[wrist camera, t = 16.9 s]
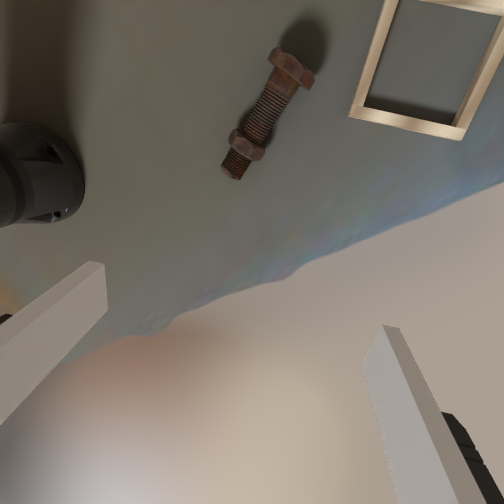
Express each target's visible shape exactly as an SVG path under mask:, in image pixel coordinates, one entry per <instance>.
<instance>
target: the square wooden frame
mask: <svg viewBox="0 0 504 504" xmlns="http://www.w3.org/2000/svg"><path fill="white" fill-rule="evenodd" d="M420 1H425V2H430V3H436V4H441V5H446V6H451V7H457V8H462V9H467V10H472V11H477V12H483V13H488V14H493V15H498V16H502V17H501V19H500V21H499V23H498V25H497V27H496V30H495V32H494V34H493V36H492V38H491V40H490V42H489V45H488V47H487V49H486V51H485V53H484V55H483V57H482V59H481V62H480V64H479V66H478V68H477V70H476V72H475V74H474V77H473V79H472V81H471V83H470V85H469V87H468V89H467V92H466V94H465V96H464V98H463V100H462V102H461V104H460V107H459V109H458V111H457V113H456V115H455V117H454V119H453V122H452V124H451V126H448V125H444V124H439V123H435V122H430V121H426V120H421V119H417V118H412V117H407V116H403V115H398V114H394V113H389V112H385V111H380V110H376V109H371V108H367V107H363V105H364V102H365V99H366V96H367V93H368V90H369V87H370V84H371V81H372V78H373V75H374V72H375V69H376V66H377V63H378V60H379V57H380V54H381V51H382V48H383V45H384V42H385V39H386V36H387V33H388V30H389V27H390V24H391V21H392V18H393V15H394V12H395V9H396V6H397V3H398V0H384V3H383V6H382V9H381V12H380V15H379V18H378V21H377V25H376V28H375V31H374V34H373V37H372V40H371V43H370V47H369V50H368V53H367V56H366V59H365V62H364V65H363V68H362V72H361V75H360V78H359V81H358V84H357V87H356V90H355V94H354V97H353V100H352V103H351V106H350V109H349V112H348V115H347V116H349V117H354V118H358V119H362V120H367V121H371V122H376V123H380V124H385V125H389V126H394V127H398V128H402V129H407V130H411V131H416V132H420V133H425V134H429V135H434V136H438V137H442V138H447V139H451V140H457V141H461V140H462V138H463V136H464V134H465V132H466V130H467V128H468V126H469V124H470V122H471V120H472V118H473V116H474V114H475V112H476V110H477V108H478V106H479V104H480V102H481V100H482V98H483V96H484V93H485V91H486V89H487V87H488V85H489V83H490V81H491V79H492V77H493V75H494V73H495V71H496V69H497V67H498V65H499V63H500V61H501V59H502V57H503V55H504V0H420Z"/></svg>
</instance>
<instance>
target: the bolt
mask: <svg viewBox="0 0 504 504" xmlns="http://www.w3.org/2000/svg"><path fill="white" fill-rule="evenodd" d="M267 60H268V61H269V62H271V63H272V64H273V65H274V66H275V68H274V70H273V72H272V73H271V75H270V77H269V79H268V82H267V85H266V86H265V87H266V88H264V91H262V93H263V94H261V97H259V99H260V100H257V101H258V102H256V105H254V106H255V108H253V110H252V113H250V114H251V115H249V118H247V119H248V120H246V123H245V125H244V126H243V127H244V128H242V130H240V129H234V130H232V132H231V134H230V136H229V140H228V141H229V144H230V146H231V149H230V151H229V152H228V154H227V156H226V158H225V160H223V162H222V164H221V171H222V172H224V173H225V174H226V175H227V176H228V177H229V178H230V179H235V180H240V179H241V177H242V176H243V174H244V171H246V169H247V167H248V165H250V163H251V161H259V160H261V158H262V157H263V155H264V154H265V148H264V146H263V145H262V142H264V140H265V137H267V136H266V135H268V132H270V131H269V130H271V128H272V127H273V126H272V125H274V123H275V122H276V120H277V117H279V115H281V113H280V112H282V110H284V108H283V107H285V104H287V102H288V101H289V100H290V99H291V98H292V97H293V95H294V93H295V92H296V90H297V89H298V87H299V86H301V87H303V88H305V89H307V90H308V91H309V90H310V88H311V86H312V85H313V83H314V82H315V79H314V74H313V73H312V72H311V71H310V70H309V69H308V68H307V67H306V66H305V65H304V64H302V63H301V62H300V61H299V60H298V59H296V58H295V57H294V56H292V55H291V54H289V53H288V52H287V51H285V50H283V49H282V48H280V47H276V48H274V49H273V50H272V51H271V53H270V55H269V57H268V59H267Z"/></svg>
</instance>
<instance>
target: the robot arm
mask: <svg viewBox="0 0 504 504" xmlns="http://www.w3.org/2000/svg"><path fill="white" fill-rule="evenodd" d="M83 194H84V182H83V176H82V172H81V169H80V167H79V164H78V162H77V160H76V158H75V156H74V155H73V153H72V151H71V150H70V149H69V147H68V146H67V145H66V144H65V143H64V142H63V141H62V139H60V138H59V137H58V136H57V135H56V134H55V133H53V132H52V131H50V130H49V129H47V128H45V127H43V126H40V125H37V124H34V123H23V122H11V123H5V124H1V125H0V228H1V227H4V226H7V225H10V224H14V223H40V224H46V223H53V222H57V221H60V220H63V219H65V218H68V217H70V216H71V215H73V214H74V213H75V212H76V211H77V210H78V208H79V207H80V205H81V202H82V199H83ZM107 311H108V303H107V290H106V278H105V265H104V264H102V263H97V262H93V261H88V262H86V263H85V264H84V265H82V266H81V267H79V268H78V269H77V270H75V271H74V272H72V273H71V274H70V275H68V276H67V277H66V278H64V279H63V280H61V281H60V282H59V283H57V284H56V285H55V286H53V287H52V288H50V289H49V290H48V291H46V292H45V293H44V294H42V295H41V296H39V297H38V298H37V299H35V300H34V301H33V302H31V303H30V304H28V305H27V306H26V307H24V308H23V309H22V310H20V311H19V312H17V313H16V314H15V315H10V314H5V315H2V316H0V425H1V424H2V423H3V422H4V421H5V420H6V419H7V417H8V416H9V415H10V414H11V413H12V412H13V411H14V410H15V409H16V408H17V407H18V406H19V405H20V404H21V403H22V402H23V400H24V399H25V398H26V397H27V396H28V395H29V394H30V393H31V392H32V391H33V390H34V388H36V387H37V386H38V384H39V383H40V382H41V381H42V380H43V379H44V378H45V377H46V376H47V375H48V374H49V373H50V372H51V371H52V369H53V368H54V367H55V366H56V365H57V364H58V363H59V362H60V361H61V360H62V359H63V358H64V357H65V356H66V354H67V353H68V352H69V351H70V350H71V349H72V348H73V347H74V346H75V345H76V344H77V343H78V342H79V341H80V339H81V338H82V337H83V336H84V335H85V334H86V333H87V332H88V331H89V330H90V329H91V328H92V327H93V326H94V324H95V323H96V322H97V321H98V320H99V319H100V318H101V317H102V316H103V315H104V314H105V313H106V312H107ZM361 368H362V371H363V375H364V379H365V382H366V386H367V390H368V393H369V397H370V400H371V404H372V408H373V411H374V415H375V419H376V422H377V426H378V429H379V433H380V437H381V440H382V444H383V447H384V451H385V455H386V458H387V462H388V466H389V469H390V473H391V477H392V480H393V484H394V488H395V491H396V495H397V499H398V502H399V504H504V498H503V496H502V494H501V492H500V491H499V489H498V487H497V485H496V483H495V482H494V480H493V478H492V476H491V474H490V473H489V471H488V469H487V467H486V465H484V464H483V460H482V458H481V456H480V454H479V453H478V451H477V450H476V449H475V445H474V444H473V442H472V440H471V438H470V436H469V434H468V433H467V431H466V429H465V428H464V427H463V426H462V425H461V424H460V423H459V422H458V420H457V419H456V418H455V417H454V416H453V415H452V414H449V413H444V412H441V411H440V410H439V407H438V405H437V403H436V401H435V399H434V397H433V395H432V393H431V391H430V389H429V387H428V385H427V383H426V381H425V379H424V377H423V375H422V373H421V371H420V369H419V367H418V365H417V363H416V361H415V359H414V357H413V355H412V353H411V351H410V349H409V347H408V345H407V343H406V341H405V339H404V337H403V335H402V333H401V331H400V329H399V328H395V327H390V326H386V325H382V326H381V328H380V330H379V332H378V334H377V337H376V338H375V340H374V342H373V344H372V346H371V348H370V350H369V352H368V354H367V356H366V358H365V360H364V362H363V364H362V366H361Z"/></svg>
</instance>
